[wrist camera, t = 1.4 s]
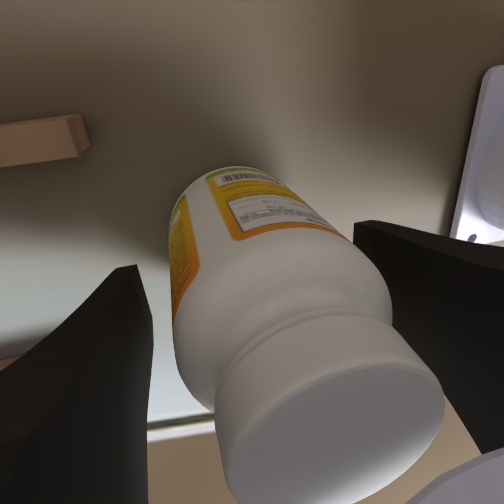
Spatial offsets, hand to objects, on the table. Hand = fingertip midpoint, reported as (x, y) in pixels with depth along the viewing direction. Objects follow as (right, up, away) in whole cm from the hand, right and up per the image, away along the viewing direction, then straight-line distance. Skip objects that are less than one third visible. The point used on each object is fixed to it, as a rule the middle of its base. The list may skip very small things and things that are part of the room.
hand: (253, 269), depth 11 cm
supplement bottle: (-1, +2, +3) cm, 4 cm away
